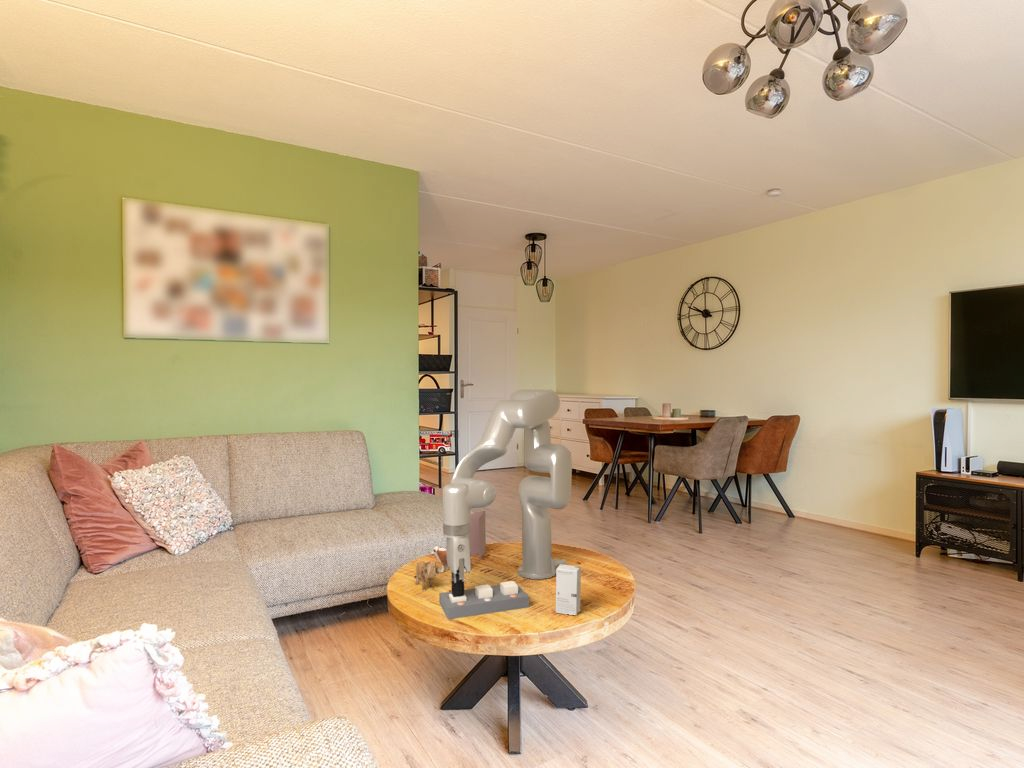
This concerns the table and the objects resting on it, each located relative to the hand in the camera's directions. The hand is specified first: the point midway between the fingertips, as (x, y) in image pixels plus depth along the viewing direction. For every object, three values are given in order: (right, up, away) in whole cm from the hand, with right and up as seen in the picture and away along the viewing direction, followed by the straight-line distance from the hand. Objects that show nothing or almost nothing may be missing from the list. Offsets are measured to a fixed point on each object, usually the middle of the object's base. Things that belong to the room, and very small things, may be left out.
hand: (457, 595), depth 156 cm
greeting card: (+3, -4, +46) cm, 46 cm away
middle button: (+7, -2, +2) cm, 8 cm away
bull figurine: (-5, -4, +31) cm, 32 cm away
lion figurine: (-11, -4, +18) cm, 21 cm away
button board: (+7, -4, +2) cm, 8 cm away
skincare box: (+30, -4, -2) cm, 31 cm away
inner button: (+14, -2, +5) cm, 15 cm away
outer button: (0, -4, 0) cm, 4 cm away
